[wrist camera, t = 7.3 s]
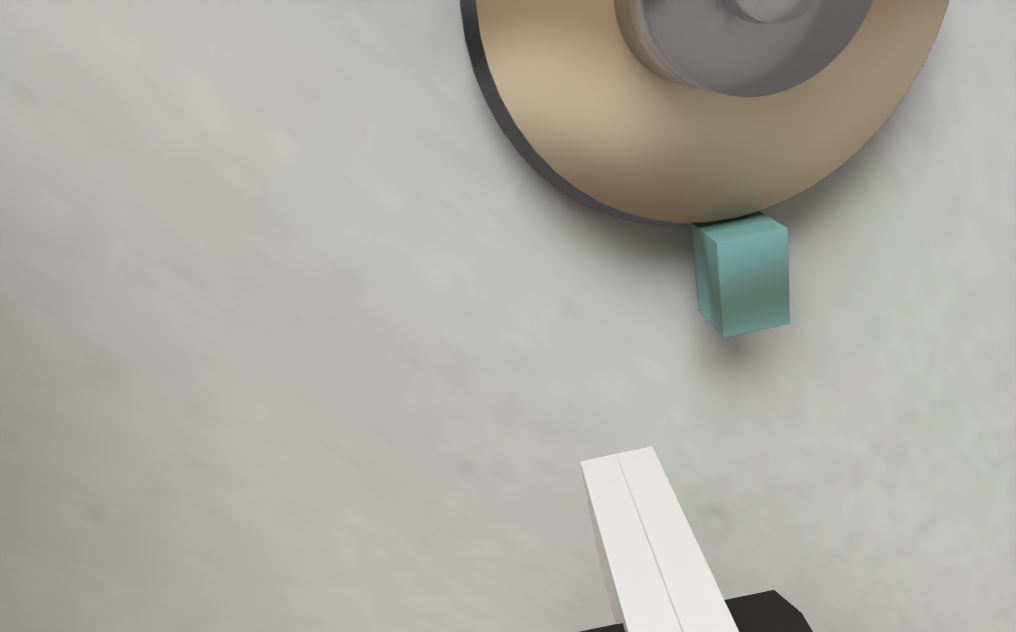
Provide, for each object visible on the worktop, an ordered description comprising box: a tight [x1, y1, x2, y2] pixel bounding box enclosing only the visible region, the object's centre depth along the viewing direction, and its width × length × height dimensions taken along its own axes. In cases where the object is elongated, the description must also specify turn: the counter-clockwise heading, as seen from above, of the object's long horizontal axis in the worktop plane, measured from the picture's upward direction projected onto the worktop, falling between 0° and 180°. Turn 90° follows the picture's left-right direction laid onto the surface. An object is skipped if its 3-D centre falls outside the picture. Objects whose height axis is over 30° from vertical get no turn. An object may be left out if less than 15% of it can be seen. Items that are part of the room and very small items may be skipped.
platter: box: [476, 0, 949, 338], centre depth 21 cm, size 19×15×3 cm
